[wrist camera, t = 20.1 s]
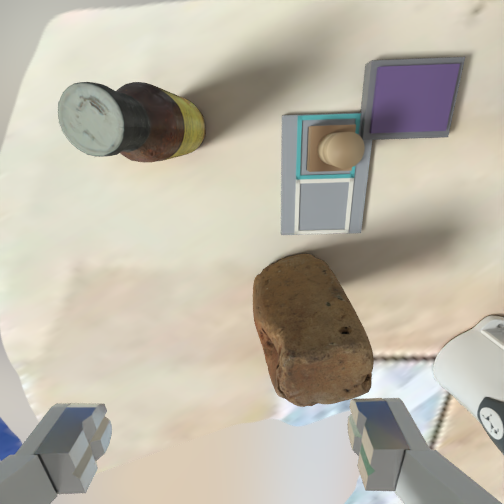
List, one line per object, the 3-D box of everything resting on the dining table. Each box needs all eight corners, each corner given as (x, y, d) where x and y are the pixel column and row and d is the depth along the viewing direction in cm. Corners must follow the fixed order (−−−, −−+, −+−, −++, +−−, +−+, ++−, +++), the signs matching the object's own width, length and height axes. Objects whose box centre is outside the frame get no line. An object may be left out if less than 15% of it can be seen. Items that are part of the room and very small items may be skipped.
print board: (373, 112, 34) (376, 112, 33) (358, 231, 39) (361, 233, 38) (281, 116, 34) (282, 115, 33) (280, 233, 40) (281, 235, 39)
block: (323, 247, 40) (381, 339, 22) (329, 291, 43) (385, 406, 24) (250, 261, 41) (246, 361, 23) (260, 304, 44) (264, 424, 25)
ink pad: (454, 61, 32) (468, 55, 30) (438, 137, 35) (450, 137, 33) (365, 64, 32) (373, 59, 30) (357, 139, 35) (364, 139, 33)
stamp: (349, 125, 34) (376, 121, 26) (345, 168, 35) (369, 176, 28) (307, 127, 34) (322, 123, 26) (305, 169, 35) (319, 177, 28)
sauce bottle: (194, 91, 33) (118, 30, 15) (215, 144, 35) (171, 149, 17) (145, 112, 34) (15, 79, 15) (168, 162, 36) (78, 186, 18)
